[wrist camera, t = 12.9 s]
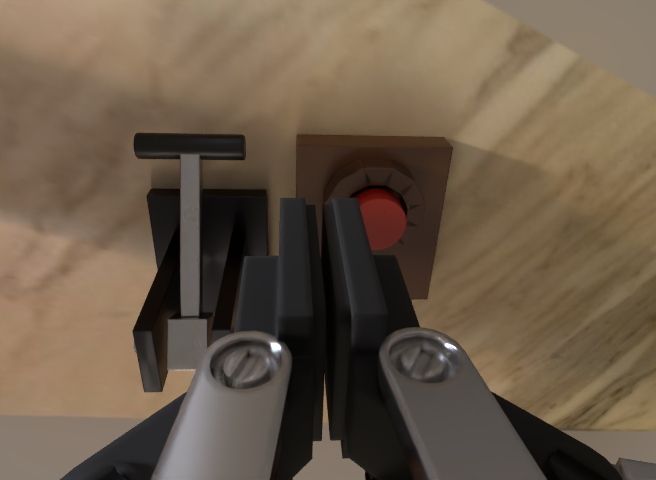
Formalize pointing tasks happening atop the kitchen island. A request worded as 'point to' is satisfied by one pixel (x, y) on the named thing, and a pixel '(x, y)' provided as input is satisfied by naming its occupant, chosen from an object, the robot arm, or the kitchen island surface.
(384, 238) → the button
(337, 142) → the button block
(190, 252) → the tap lever
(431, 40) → the kitchen island surface
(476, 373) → the robot arm
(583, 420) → the kitchen island surface
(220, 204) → the bracket
